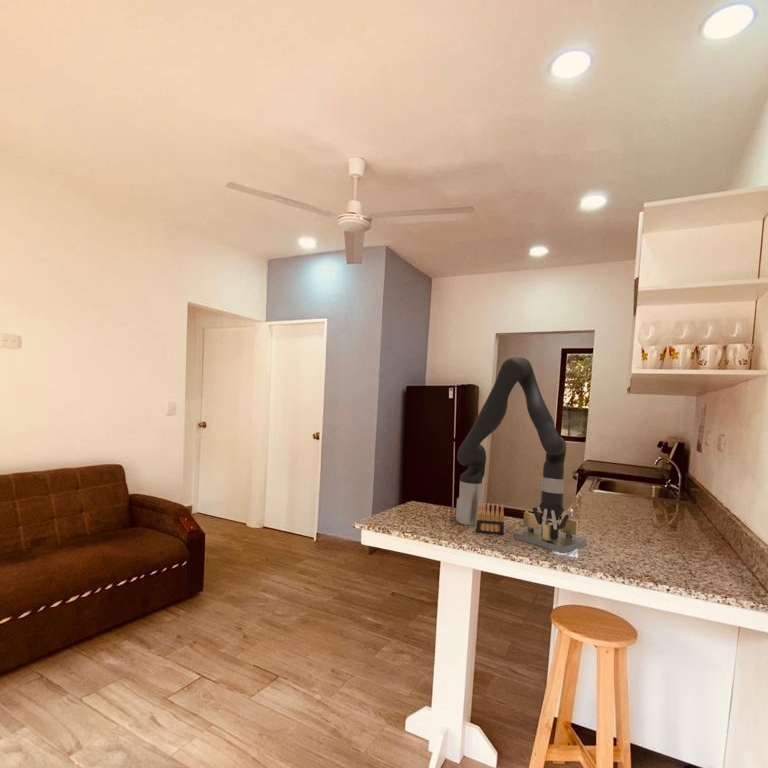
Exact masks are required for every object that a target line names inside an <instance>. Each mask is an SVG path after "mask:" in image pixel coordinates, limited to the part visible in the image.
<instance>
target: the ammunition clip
mask: <svg viewBox="0 0 768 768" xmlns="http://www.w3.org/2000/svg"><path fill="white" fill-rule="evenodd" d="M490 509H491V510H490ZM504 511H505V510H504V504H503V503H502V504H501V505H500V504H499V503H497V504H496V506H495V504H494V502H492V504H491V505H490V502H488V503H487V504H486V503H485V502H484V501H483V503H481V504H480V502H479V504H478V511H477V520H476V525H475V534H480V533H481V535H492V534H495V535H494V536H496V535H497V536H505V535H504V534H505V533H504V532H505V530H504V528H505V527H504V524H505V523H504V521H505V520H504V519H505V514H504V513H505V512H504Z"/></svg>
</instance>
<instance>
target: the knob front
mask: <svg viewBox="0 0 768 768" xmlns="http://www.w3.org/2000/svg"><path fill="white" fill-rule="evenodd" d="M553 529H554V527H553V522H552V523H545V524H543V533H542V538H543V539H546V541H547V542H549V543H553Z"/></svg>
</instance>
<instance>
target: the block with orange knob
mask: <svg viewBox="0 0 768 768" xmlns="http://www.w3.org/2000/svg"><path fill="white" fill-rule="evenodd" d="M522 522H523V525H522V526H524V527H526V528H527V529H528V530H529V531H534V529H539V527H540V524H538V523H537V520H536V518H535V515H534V512H533V513H532V512H529V511H528V510H525V512H523V521H522Z"/></svg>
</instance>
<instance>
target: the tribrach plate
mask: <svg viewBox="0 0 768 768" xmlns="http://www.w3.org/2000/svg"><path fill="white" fill-rule="evenodd" d="M541 517H542V519H543V515H541ZM548 523H552V519H551V518H549V521H548ZM512 538H513V539H517V540H519V541H523V542H526V543H529V544H532V545H536V546H538V547H541V546H542V547H541V548H545V549H549V550H552V551H554V550H555V551H554V552H557V551H558V552H557V553H561V554H566V553H568V552H571V551H574V550H576V549H579V548H583V547H585V546H587V545H588V544H587V541H588V540H587V539H586V538H582V537H580V536H576V535H572V537H567V536H566V533H563V532H561V531H559V534H558V538H557V539H556V540H553V543H549V542H547V541H546V539H543V538H542V526H539V529H534V531H529V530H528V528H525V529H521V530H517V531H513V532H512Z"/></svg>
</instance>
